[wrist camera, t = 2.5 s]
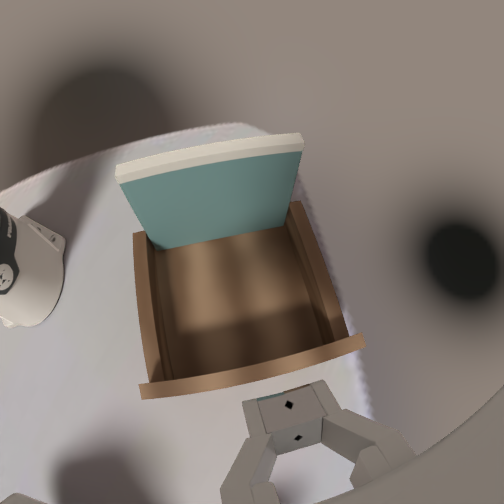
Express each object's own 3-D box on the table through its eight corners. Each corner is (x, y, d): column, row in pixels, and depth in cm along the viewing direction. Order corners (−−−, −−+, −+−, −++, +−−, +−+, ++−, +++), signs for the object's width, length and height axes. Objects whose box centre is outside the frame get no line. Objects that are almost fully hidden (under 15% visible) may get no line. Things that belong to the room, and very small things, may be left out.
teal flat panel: (157, 252, 32) (114, 176, 20) (156, 242, 33) (116, 164, 20) (283, 226, 35) (305, 142, 22) (280, 217, 35) (299, 132, 22)
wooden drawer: (170, 393, 28) (141, 399, 19) (149, 258, 35) (123, 219, 26) (331, 355, 31) (366, 346, 22) (291, 229, 38) (305, 184, 29)
